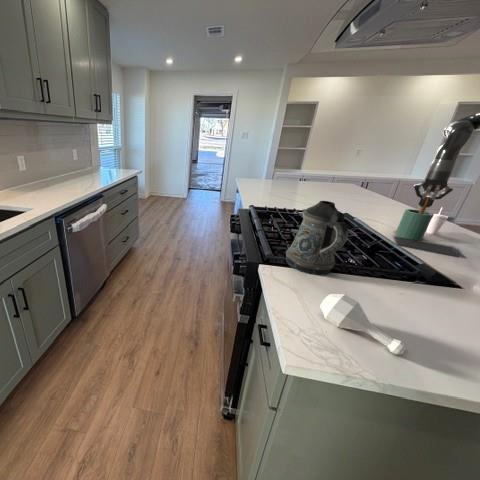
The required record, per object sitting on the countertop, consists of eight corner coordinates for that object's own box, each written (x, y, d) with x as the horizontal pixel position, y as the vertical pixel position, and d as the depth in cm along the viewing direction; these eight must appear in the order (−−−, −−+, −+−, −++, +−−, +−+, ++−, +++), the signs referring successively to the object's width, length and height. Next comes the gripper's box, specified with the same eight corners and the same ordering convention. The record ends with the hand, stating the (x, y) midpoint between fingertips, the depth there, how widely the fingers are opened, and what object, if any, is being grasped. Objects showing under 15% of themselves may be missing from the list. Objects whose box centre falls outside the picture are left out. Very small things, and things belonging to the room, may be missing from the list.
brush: (418, 231, 127) (434, 196, 120) (420, 234, 123) (436, 198, 116) (405, 229, 129) (420, 194, 122) (407, 232, 126) (422, 196, 118)
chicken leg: (390, 368, 56) (417, 340, 54) (312, 312, 67) (331, 287, 65) (391, 360, 62) (415, 334, 60) (319, 310, 73) (337, 287, 71)
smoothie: (419, 230, 137) (431, 205, 131) (433, 231, 136) (445, 206, 130) (428, 234, 131) (441, 208, 125) (443, 235, 130) (456, 209, 124)
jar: (419, 236, 129) (430, 211, 124) (423, 242, 121) (435, 216, 116) (394, 231, 134) (404, 207, 129) (396, 237, 127) (407, 212, 122)
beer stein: (298, 251, 109) (314, 194, 99) (349, 271, 94) (373, 206, 84) (275, 261, 100) (290, 199, 90) (327, 284, 85) (351, 213, 76)
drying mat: (450, 247, 116) (451, 246, 116) (458, 257, 107) (459, 256, 107) (394, 237, 126) (394, 236, 126) (397, 245, 117) (397, 244, 117)
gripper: (421, 169, 115) (406, 205, 122) (465, 172, 108) (446, 211, 115) (418, 167, 121) (403, 202, 127) (459, 170, 113) (442, 207, 120)
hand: (424, 206), depth 121 cm, fingers closed on brush
